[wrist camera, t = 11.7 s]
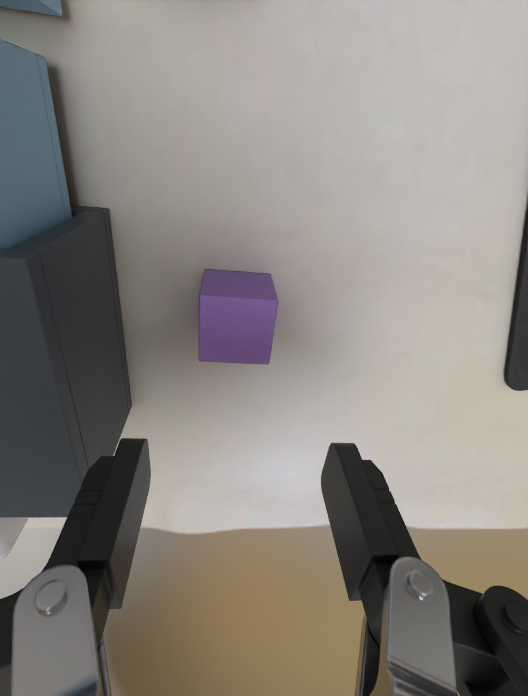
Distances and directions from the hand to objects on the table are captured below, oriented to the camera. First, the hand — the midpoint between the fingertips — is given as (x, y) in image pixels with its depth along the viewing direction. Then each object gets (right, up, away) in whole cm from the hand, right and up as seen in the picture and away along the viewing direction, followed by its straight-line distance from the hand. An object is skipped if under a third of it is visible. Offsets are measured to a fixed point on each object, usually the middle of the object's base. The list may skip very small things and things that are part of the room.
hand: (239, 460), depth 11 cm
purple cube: (-1, +7, +11) cm, 13 cm away
